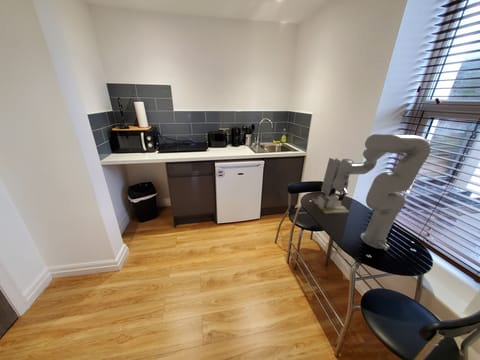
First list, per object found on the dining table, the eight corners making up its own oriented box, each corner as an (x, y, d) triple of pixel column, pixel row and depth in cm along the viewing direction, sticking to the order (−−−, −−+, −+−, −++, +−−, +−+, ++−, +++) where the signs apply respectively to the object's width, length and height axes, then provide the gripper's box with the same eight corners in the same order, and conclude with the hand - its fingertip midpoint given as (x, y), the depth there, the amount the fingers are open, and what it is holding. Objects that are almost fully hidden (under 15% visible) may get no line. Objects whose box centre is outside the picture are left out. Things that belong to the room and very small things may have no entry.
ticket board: (349, 212, 135) (349, 211, 134) (325, 213, 132) (325, 212, 131) (333, 199, 152) (333, 198, 151) (311, 200, 149) (311, 198, 148)
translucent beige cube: (339, 206, 140) (342, 199, 137) (332, 206, 139) (334, 199, 136) (334, 202, 145) (337, 195, 142) (327, 202, 144) (329, 195, 142)
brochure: (334, 197, 155) (344, 163, 143) (327, 197, 155) (337, 163, 143) (327, 190, 168) (336, 158, 156) (321, 189, 168) (329, 157, 156)
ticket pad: (333, 208, 137) (336, 199, 134) (322, 208, 135) (324, 200, 133) (326, 201, 146) (328, 193, 143) (315, 201, 144) (317, 193, 141)
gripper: (356, 181, 126) (348, 203, 133) (339, 171, 141) (333, 191, 148) (346, 181, 124) (338, 203, 132) (330, 171, 140) (325, 191, 147)
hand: (336, 197), depth 140 cm, fingers open, 9 cm apart
